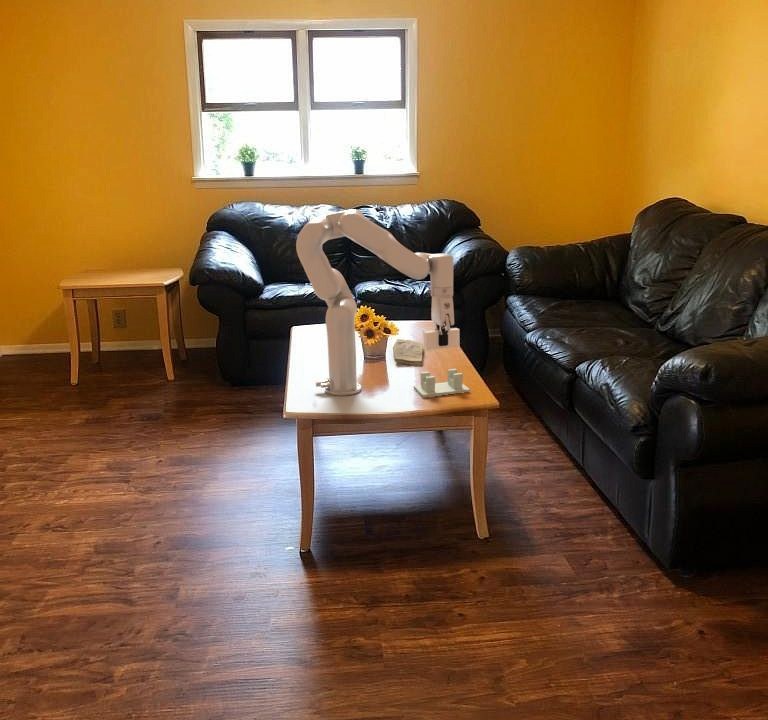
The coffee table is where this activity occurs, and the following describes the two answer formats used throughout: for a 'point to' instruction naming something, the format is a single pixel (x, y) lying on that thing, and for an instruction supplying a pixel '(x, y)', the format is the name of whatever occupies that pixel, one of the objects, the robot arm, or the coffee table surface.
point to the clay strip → (433, 339)
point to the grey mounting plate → (441, 385)
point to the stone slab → (408, 352)
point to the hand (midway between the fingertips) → (441, 344)
